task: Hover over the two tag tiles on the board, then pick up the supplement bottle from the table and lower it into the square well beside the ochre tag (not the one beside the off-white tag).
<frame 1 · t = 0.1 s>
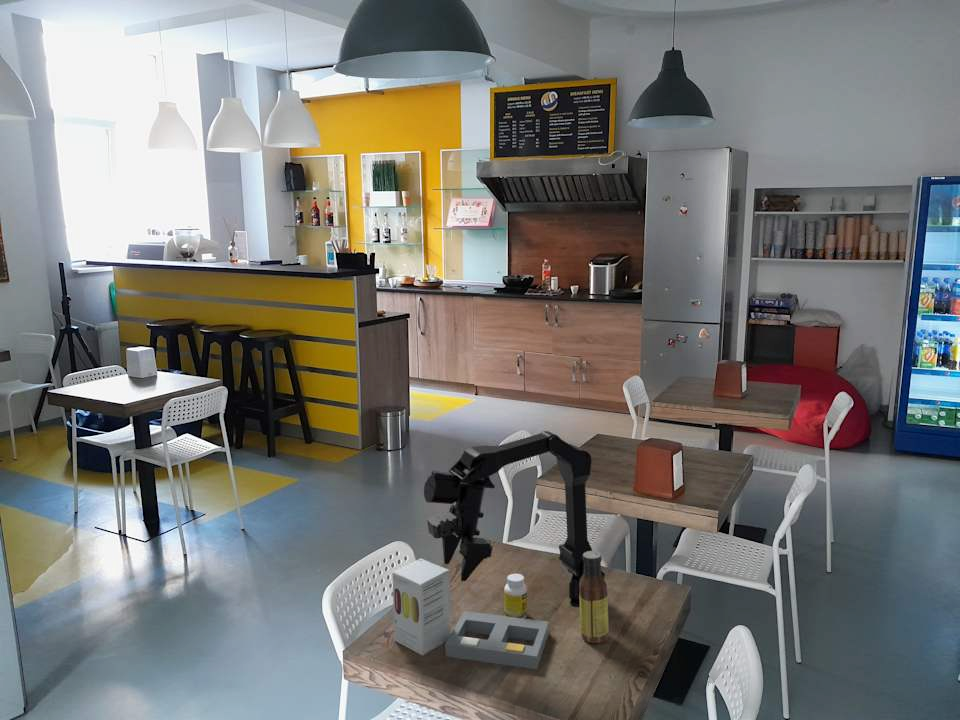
hand: (454, 572, 164), 15 cm above the table, tool pointing down, fingers open, 9 cm apart
sauce bottle: (593, 638, 165), on the table
supplement bottle: (515, 616, 174), on the table
socket board: (498, 644, 162), on the table
supplement box: (422, 640, 165), on the table
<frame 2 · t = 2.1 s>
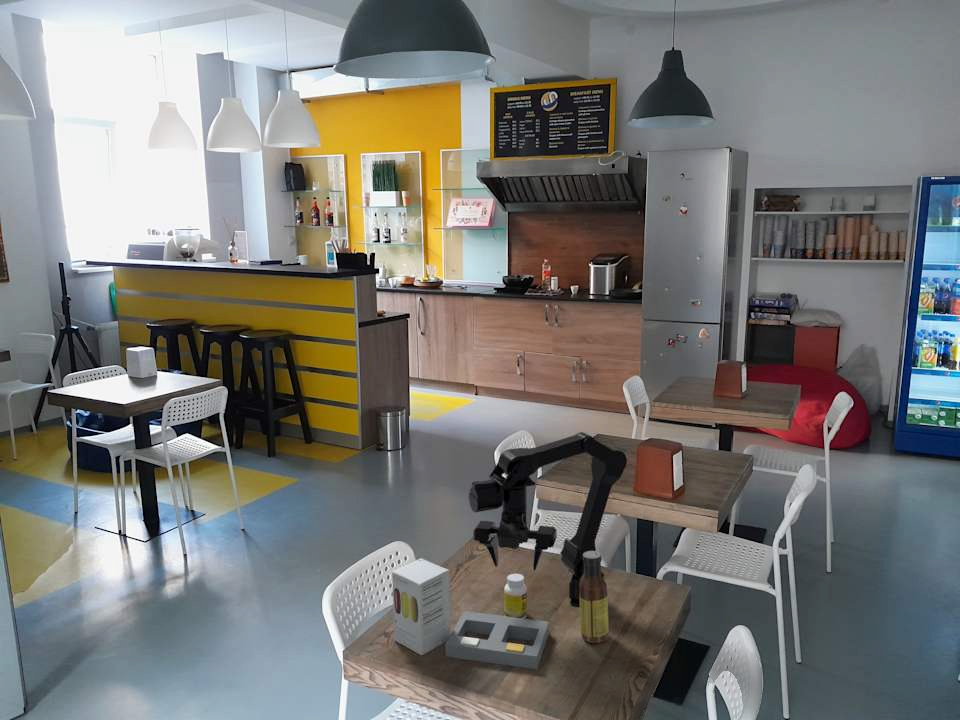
hand: (515, 567, 172), 12 cm above the table, tool pointing down, fingers open, 9 cm apart
nothing on the table moved.
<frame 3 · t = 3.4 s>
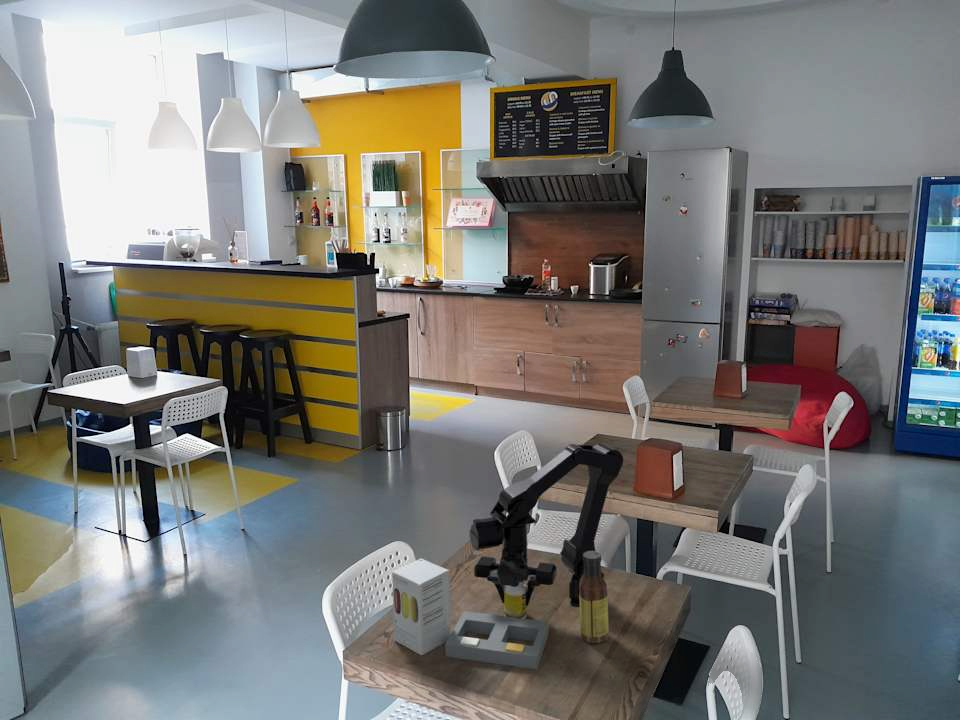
hand: (515, 603, 174), 3 cm above the table, tool pointing down, fingers closed on supplement bottle, 5 cm apart
supplement bottle: (515, 616, 174), on the table, touching gripper
everything else where it was.
when the fingers open (4 cm above the table, at t = 7.7 s): supplement bottle drops 1 cm, resting in socket board.
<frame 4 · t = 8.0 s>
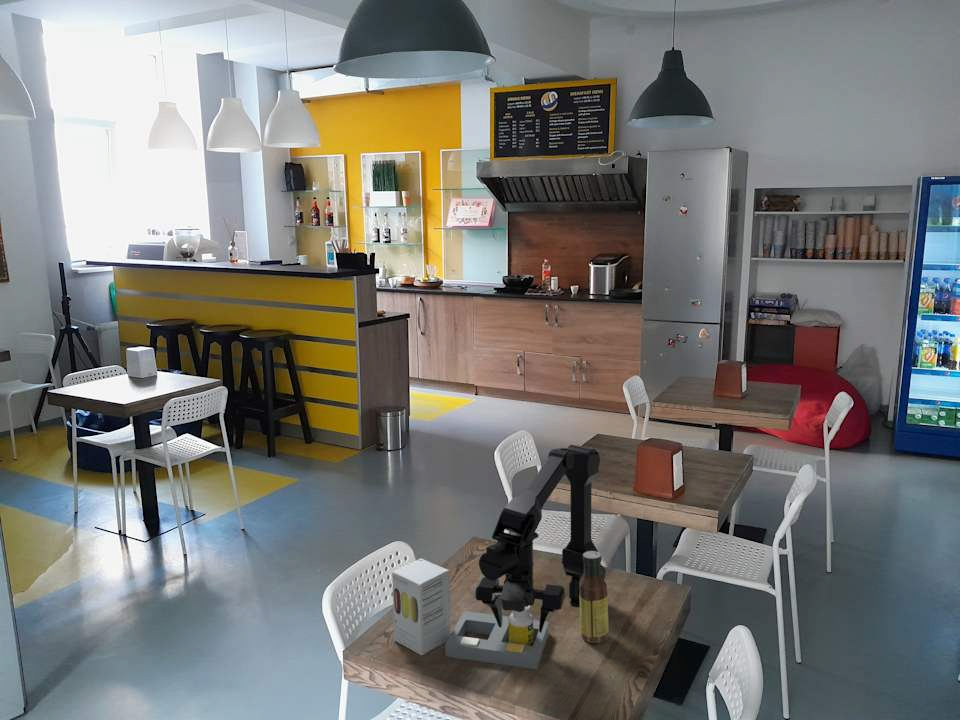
hand: (520, 629, 160), 4 cm above the table, tool pointing down, fingers open, 9 cm apart
supplement bottle: (521, 648, 161), resting in socket board
everything else where it was.
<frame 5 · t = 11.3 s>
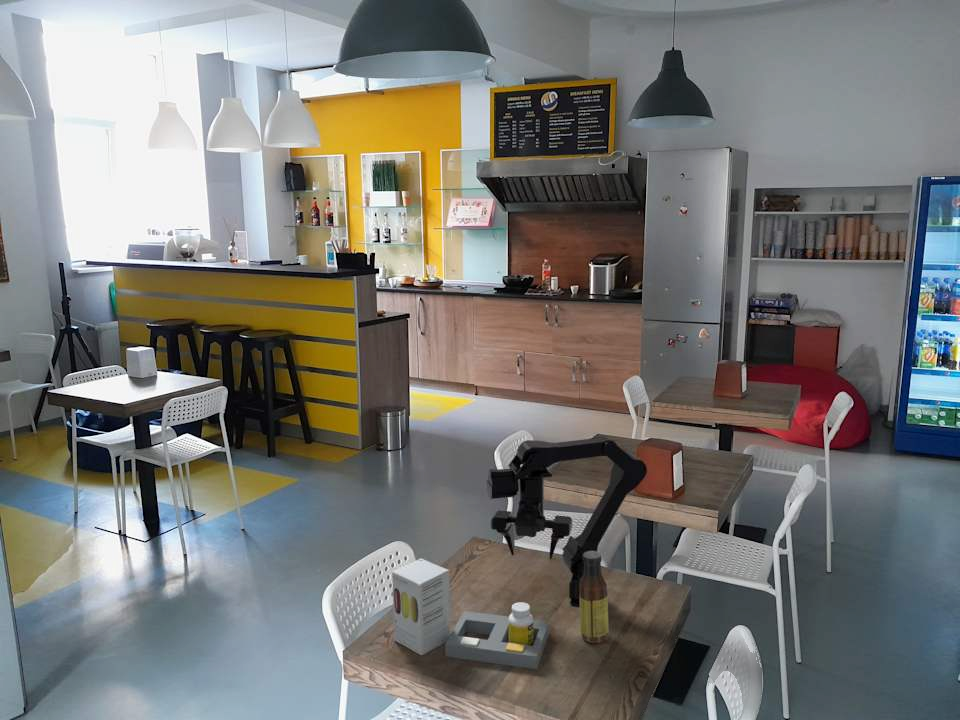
hand: (531, 556, 176), 13 cm above the table, tool pointing down, fingers open, 9 cm apart
nothing on the table moved.
at the end: supplement bottle 0.1 cm from the target spot on the socket board, point 0.0 cm above the socket board's base; supplement bottle tilted 0°; the gripper is holding nothing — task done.
